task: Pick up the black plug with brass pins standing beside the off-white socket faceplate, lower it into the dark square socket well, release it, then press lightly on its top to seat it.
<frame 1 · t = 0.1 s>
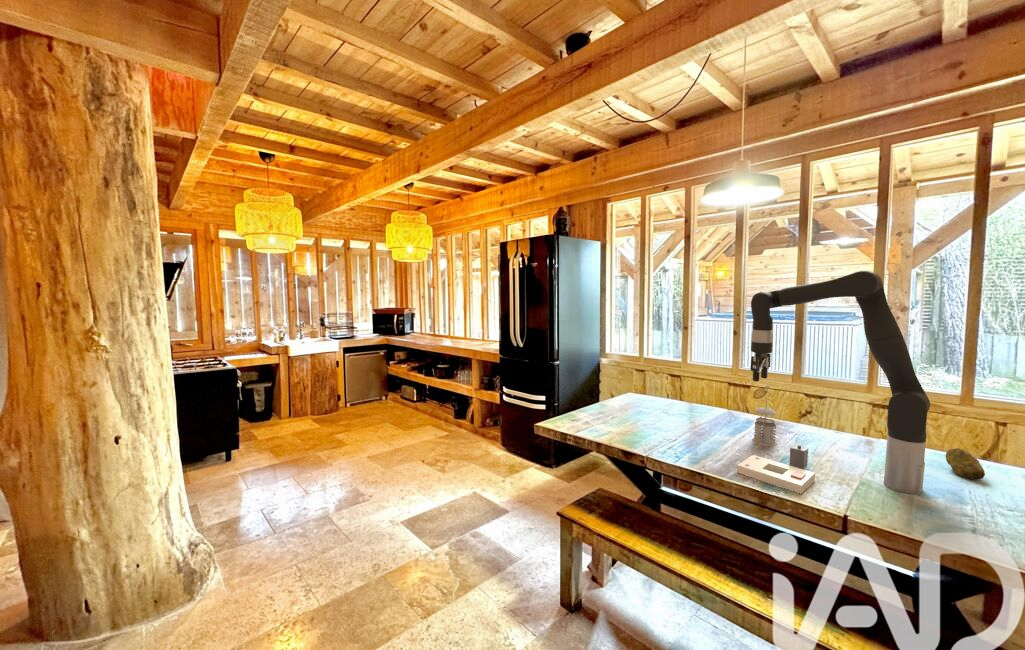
hand: (760, 379, 170), 29 cm above the table, fingers open, 8 cm apart
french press: (763, 443, 178), on the table
plug: (798, 468, 152), on the table
socket plate: (774, 476, 146), on the table
potato: (962, 474, 147), on the table
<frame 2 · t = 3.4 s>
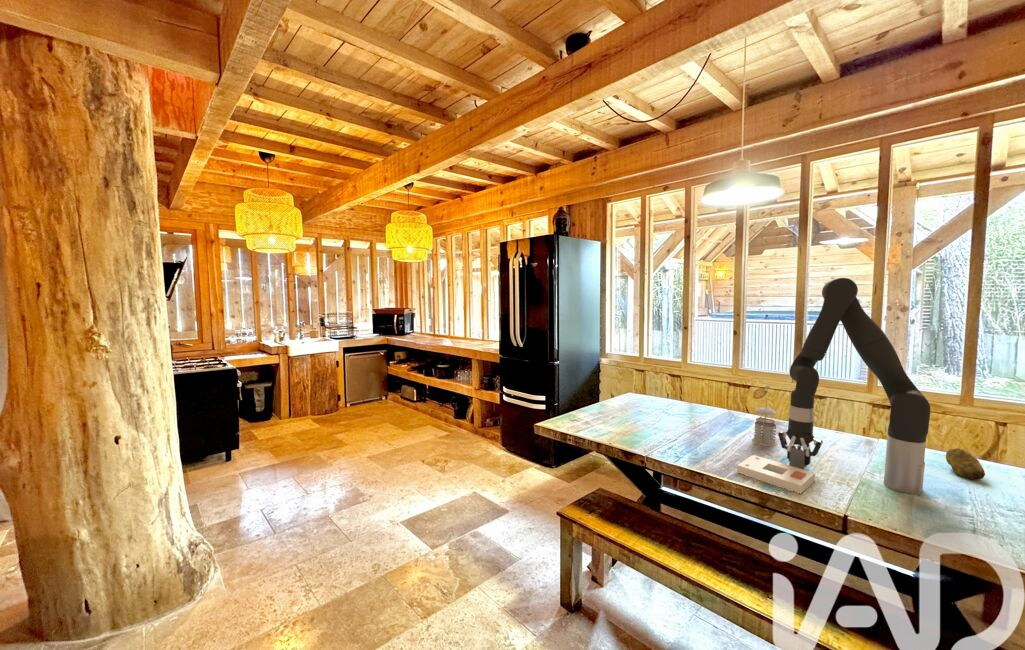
hand: (798, 462, 152), 2 cm above the table, fingers closed on plug, 4 cm apart
plug: (798, 468, 152), on the table, touching gripper
everything else where it was.
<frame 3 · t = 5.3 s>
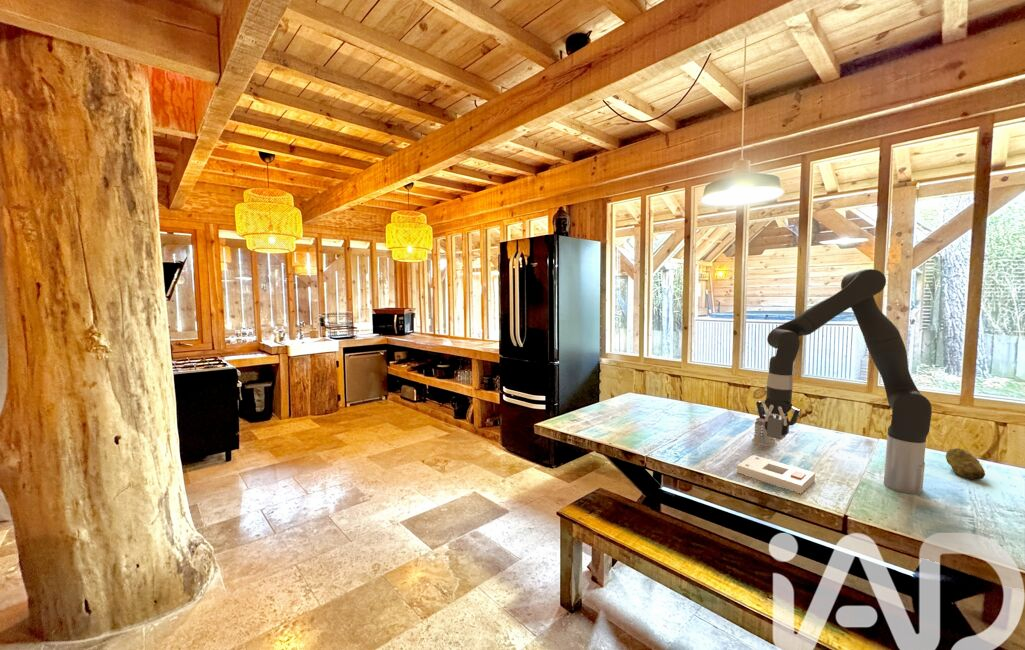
hand: (776, 432, 146), 16 cm above the table, fingers closed on plug, 4 cm apart
plug: (775, 439, 146), point 14 cm above the table, touching gripper
everything else where it was.
when the fingers open (4 cm above the table, at t = 7.5 s): plug stays where it is, resting on socket plate.
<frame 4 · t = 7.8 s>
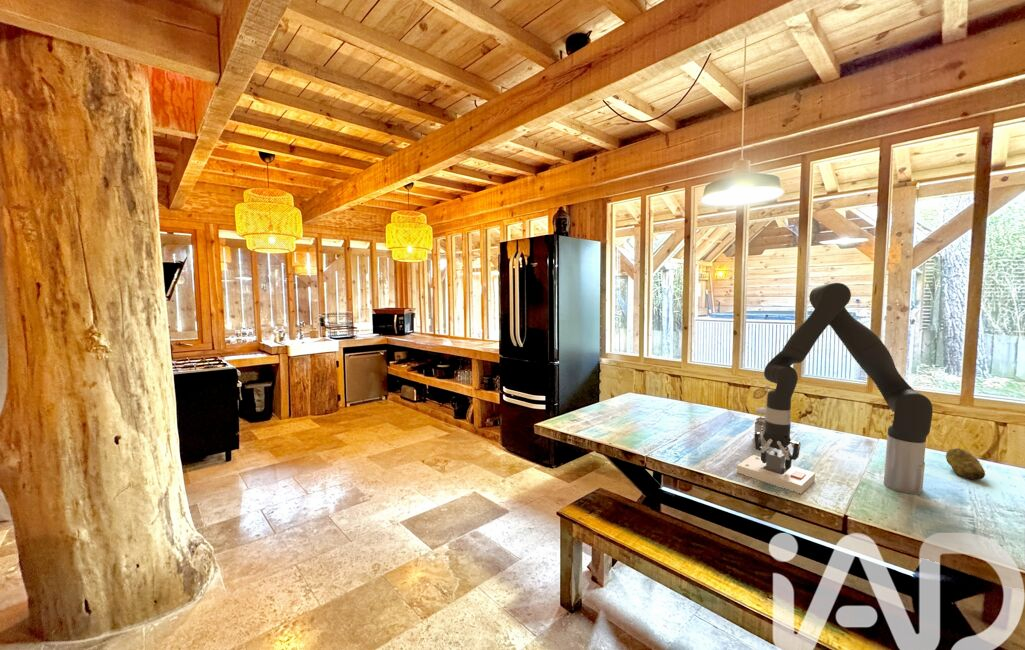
hand: (775, 465, 146), 4 cm above the table, fingers open, 6 cm apart
plug: (774, 475, 146), point 1 cm above the table, touching socket plate
everything else where it was.
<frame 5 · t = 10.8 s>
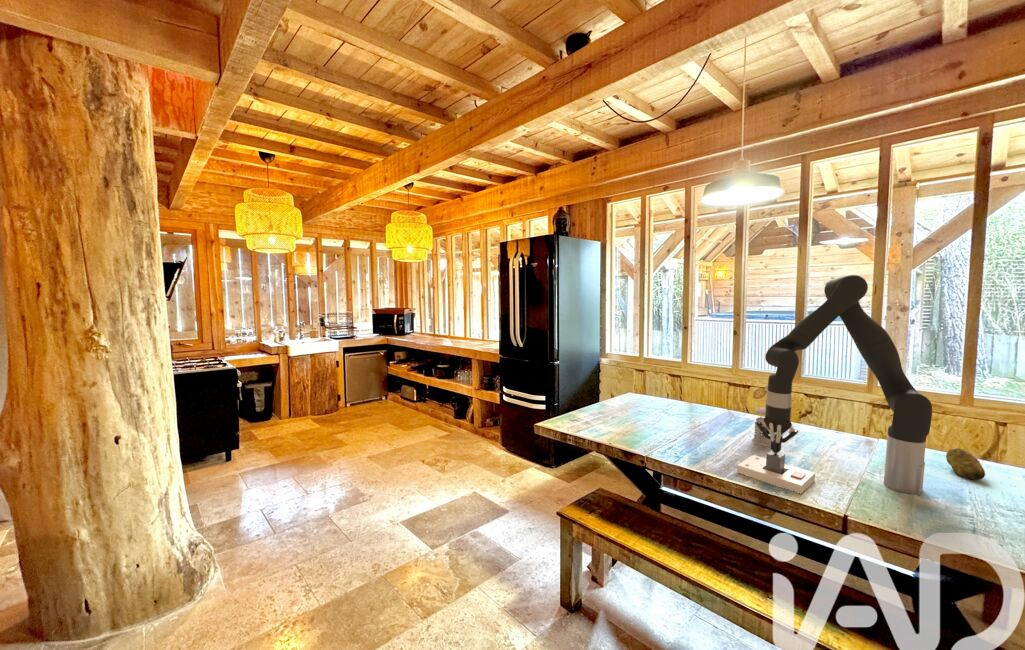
hand: (775, 451, 145), 9 cm above the table, fingers closed
plug: (774, 475, 146), point 1 cm above the table, touching gripper, socket plate
everything else where it was.
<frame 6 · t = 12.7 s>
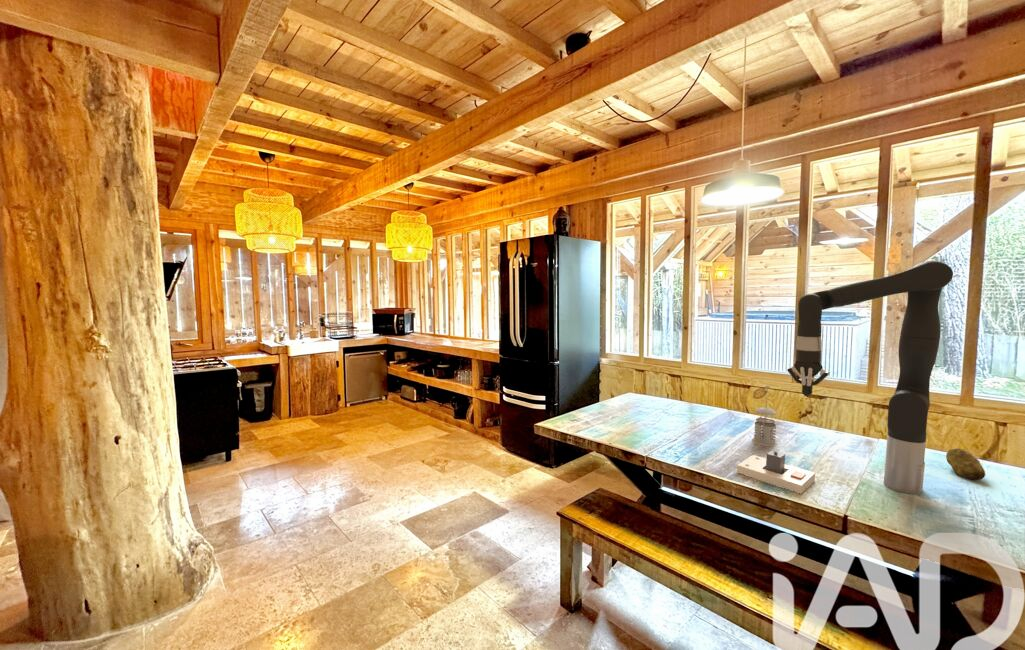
hand: (806, 395, 151), 28 cm above the table, fingers closed
plug: (774, 475, 146), resting on socket plate
everything else where it was.
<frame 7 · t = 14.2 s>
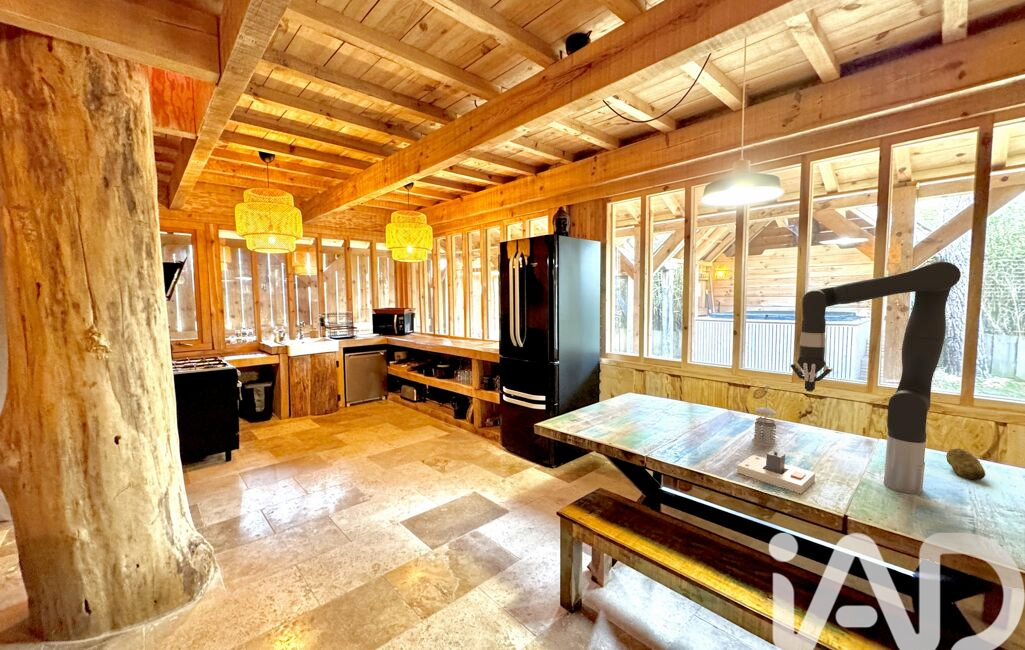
hand: (809, 391, 151), 29 cm above the table, fingers closed
nothing on the table moved.
at the end: plug 0.1 cm off-centre on the socket plate, point 0.5 cm above the socket plate's base; plug tilted 0°; the gripper is holding nothing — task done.
